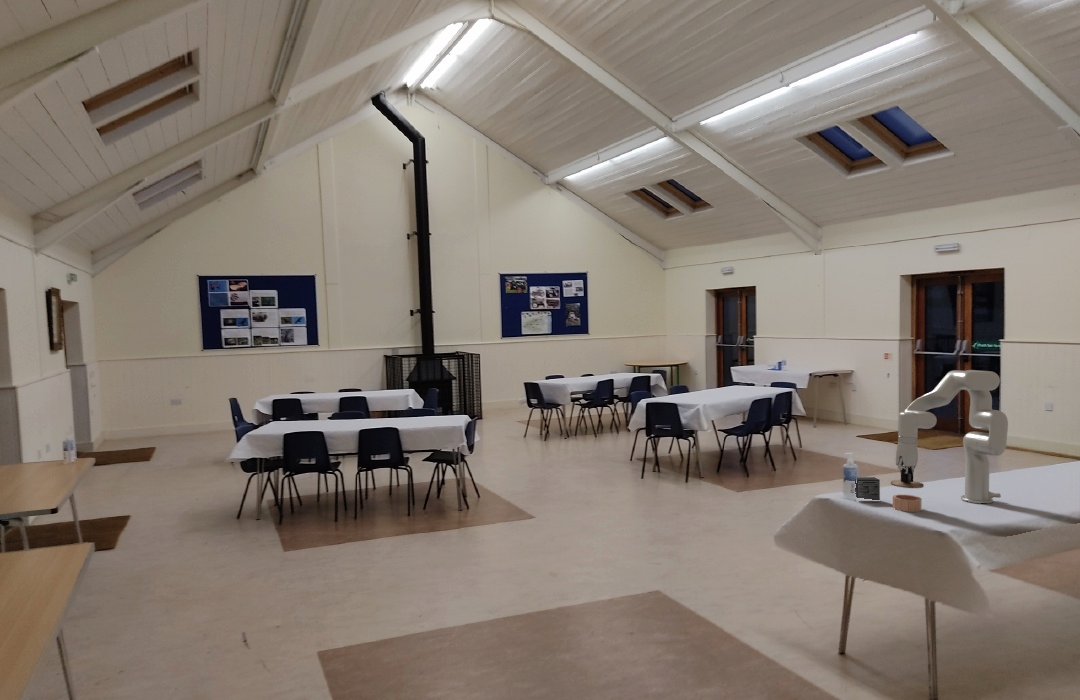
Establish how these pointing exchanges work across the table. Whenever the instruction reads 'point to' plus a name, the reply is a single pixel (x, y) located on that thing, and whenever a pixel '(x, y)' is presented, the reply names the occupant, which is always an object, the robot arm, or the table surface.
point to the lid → (907, 485)
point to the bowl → (907, 503)
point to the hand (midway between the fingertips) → (906, 481)
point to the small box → (867, 488)
